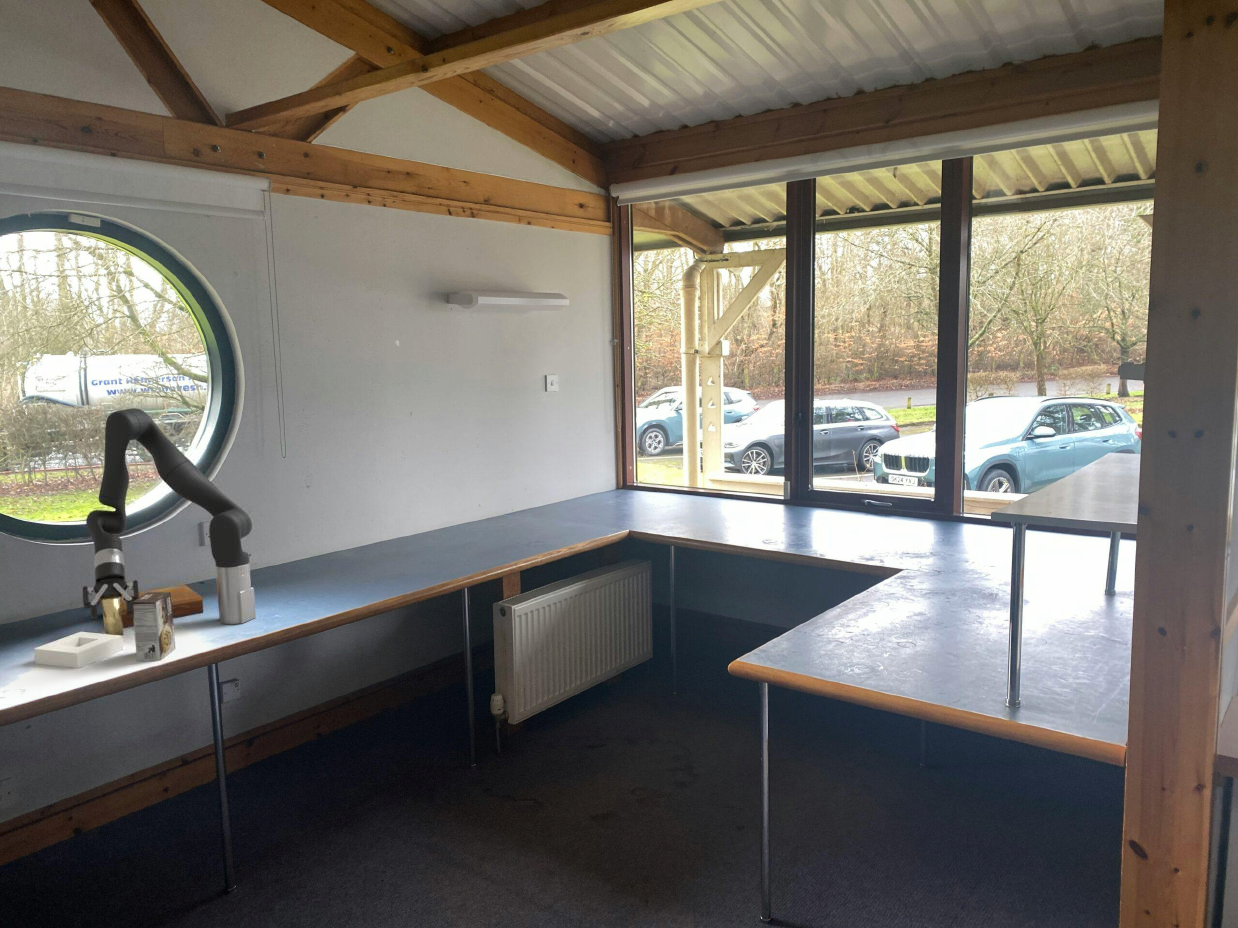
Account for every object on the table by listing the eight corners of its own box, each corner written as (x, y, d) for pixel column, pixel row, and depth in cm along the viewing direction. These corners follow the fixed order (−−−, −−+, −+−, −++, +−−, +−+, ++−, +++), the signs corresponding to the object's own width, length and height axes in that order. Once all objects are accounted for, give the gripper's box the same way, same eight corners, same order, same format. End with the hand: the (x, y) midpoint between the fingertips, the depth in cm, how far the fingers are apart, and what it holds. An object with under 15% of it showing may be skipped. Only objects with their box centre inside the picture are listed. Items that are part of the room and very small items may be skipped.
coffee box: (151, 649, 235) (147, 591, 233) (176, 648, 235) (171, 591, 233) (135, 661, 226) (130, 601, 224) (161, 660, 226) (156, 600, 224)
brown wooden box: (120, 631, 252) (118, 612, 252) (105, 616, 266) (103, 598, 265) (203, 614, 267) (202, 596, 267) (186, 601, 281) (184, 584, 280)
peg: (127, 633, 248) (123, 596, 246) (114, 638, 244) (110, 601, 242) (114, 632, 249) (111, 595, 248) (101, 637, 245) (97, 600, 243)
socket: (122, 649, 234) (121, 635, 234) (78, 668, 221) (77, 653, 221) (81, 645, 238) (80, 631, 238) (35, 663, 225) (34, 648, 224)
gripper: (79, 564, 247) (81, 613, 238) (136, 557, 254) (140, 606, 245) (82, 577, 252) (84, 627, 243) (138, 571, 259) (142, 619, 250)
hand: (112, 616), depth 244 cm, fingers open, 7 cm apart
